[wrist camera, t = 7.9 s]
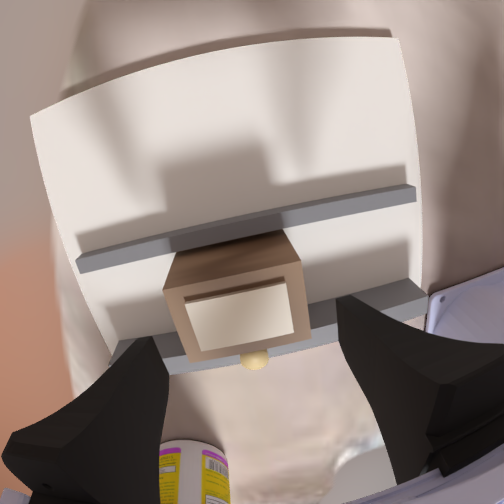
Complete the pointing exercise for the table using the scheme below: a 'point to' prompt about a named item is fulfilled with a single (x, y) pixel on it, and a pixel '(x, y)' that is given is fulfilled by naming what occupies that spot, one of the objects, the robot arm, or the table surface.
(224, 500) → the supplement bottle
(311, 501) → the table surface
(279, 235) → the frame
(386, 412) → the robot arm
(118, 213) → the wall board
